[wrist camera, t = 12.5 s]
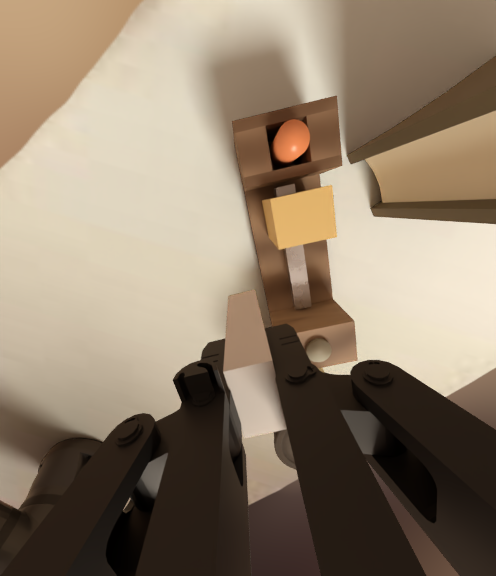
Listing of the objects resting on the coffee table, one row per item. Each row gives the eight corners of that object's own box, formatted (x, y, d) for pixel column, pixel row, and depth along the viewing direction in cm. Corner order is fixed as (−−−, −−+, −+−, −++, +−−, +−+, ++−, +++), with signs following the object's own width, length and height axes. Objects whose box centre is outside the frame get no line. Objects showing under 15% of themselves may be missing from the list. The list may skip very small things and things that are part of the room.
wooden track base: (333, 327, 41) (359, 363, 32) (274, 339, 41) (284, 377, 32) (310, 125, 31) (339, 92, 22) (234, 143, 31) (232, 119, 22)
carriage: (311, 228, 34) (336, 236, 25) (268, 237, 34) (279, 249, 25) (306, 190, 32) (332, 185, 23) (261, 200, 32) (270, 199, 23)
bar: (308, 301, 37) (311, 306, 36) (292, 304, 38) (295, 309, 36) (291, 184, 32) (294, 183, 30) (273, 189, 32) (275, 188, 30)
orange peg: (271, 169, 28) (279, 160, 22) (266, 140, 27) (274, 123, 21) (297, 163, 28) (311, 153, 22) (293, 134, 27) (307, 115, 21)
